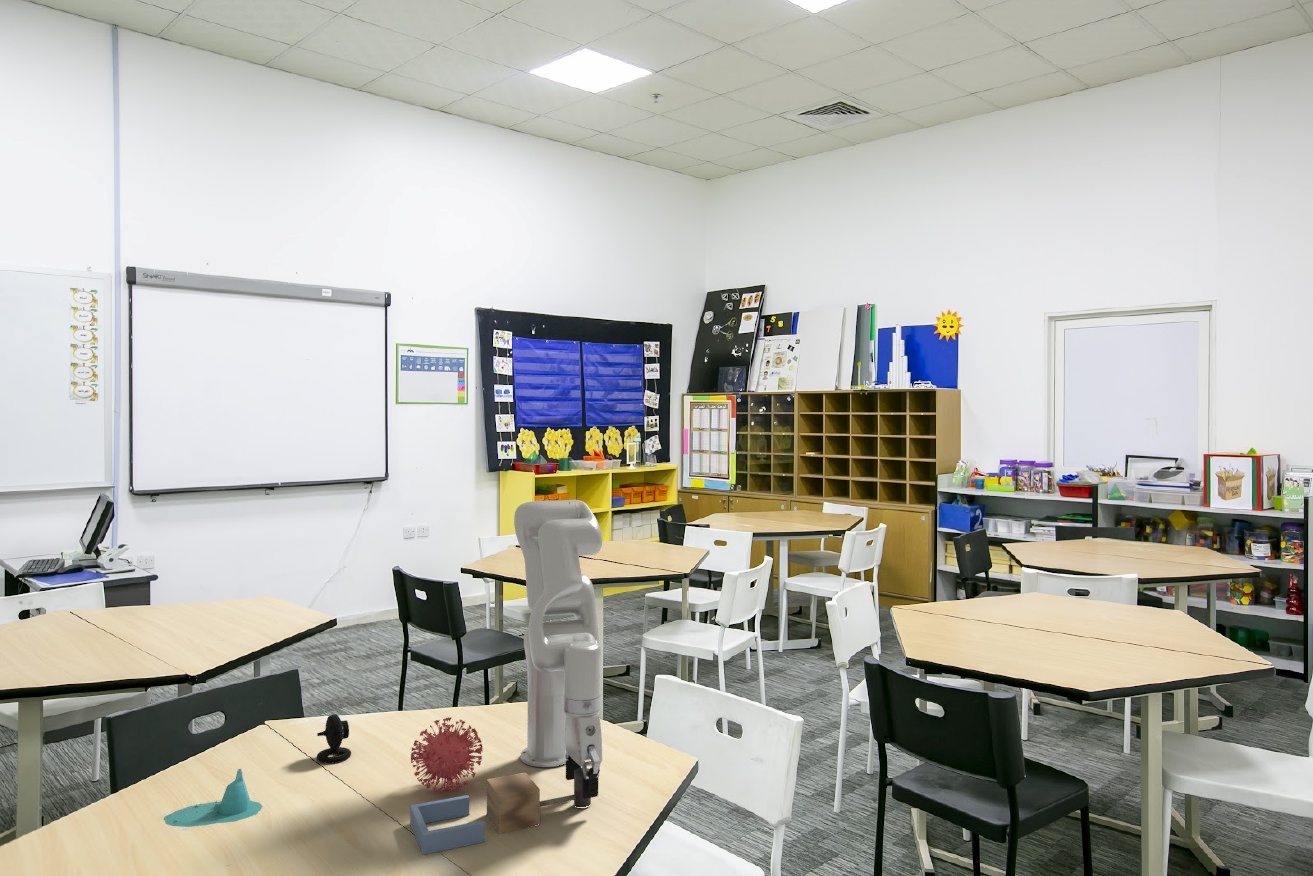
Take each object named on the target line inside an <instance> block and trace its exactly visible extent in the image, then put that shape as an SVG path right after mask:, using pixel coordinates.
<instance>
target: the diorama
mask: <svg viewBox="0 0 1313 876" xmlns="http://www.w3.org/2000/svg"><path fill="white" fill-rule="evenodd" d="M248 792H249V791H248V789H247V785H246V782H245V779H244V775H243V771H242V768H238V769H237V771H236V776H235V779H234V780H233V781H232V782H230V783H229V784H228V785H226V788H225V790H224V793H223V796H222V799H221V800H220V801H219V800H218V801H217V800H215V801H212V802H205V803H200V804H194V805H190V806H187V807H184V808H181V809H178V810H175V811H173V812H171V813H169V814H166V815H164V817H163V819H162V820H164V822H165V825H168V826H170V827H171V826H172V827H183V828H185V827H187V828H189V827H201V826H202V827H203V826H209V825H215V824H224V823H231V822H233V823H234V822H237V821H241V820H244V819H247V818H250V817H253V816H255V815H257V814H258V813H259V812H260V811H262V809H263V805H262V803H261V802H257V801H253V800H250V795H249V793H248Z"/></svg>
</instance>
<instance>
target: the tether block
mask: <svg viewBox="0 0 1313 876" xmlns="http://www.w3.org/2000/svg"><path fill="white" fill-rule="evenodd" d="M589 769H590V768H588V767H587V771H589ZM582 778H584V773H583V769H582V767H581V768H578V769H575V770H574V779H573V794H571V795H570V794H569V795H566V796H560V797H555V798H554V797H553V798H549V799H545V800H541V799H540V798H541V795H540V793H541V792H540V791H541V789H540V788H539V787H538V785H537V784H536V783H535V782H534V780H533V779H532V778H531V777H530V776H529V774H528V773H527V772H526V771H525V772H519V773H514V774H508V775H502V776H497V777H493V778H487V779H486V816H487V818H489V820H490V822H491V824H492V825H493V826H494V828H495V829H496V831H497V833H498V835H499V834H504V833H505V834H506V833H508V832H514V831H518V829H519V830H524V829H527V828H528V827H529V828H532V827H531V826H533V827H536V826H535V825H538V824H540V823H541V822H540V819H541V817H540V814H541V813H540V812H541V811H540V810H541V808H542V807H545V806H550V805H556V804H562V803H565V802H570V801H573V807H574V806H576V807H586V806H589V805H590V804H591V805H592V801H591V800H592V798H587V799H584V798H583V797H582ZM540 807H541V808H540ZM538 826H539V825H538Z"/></svg>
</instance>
